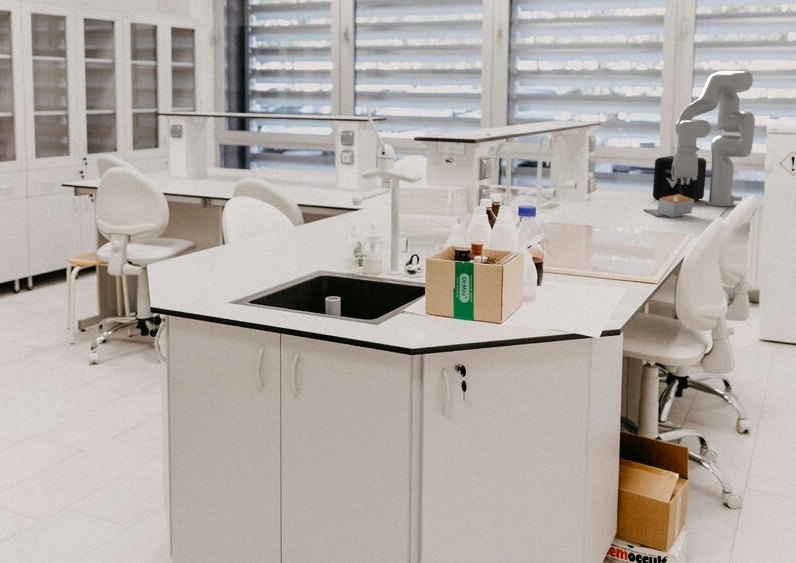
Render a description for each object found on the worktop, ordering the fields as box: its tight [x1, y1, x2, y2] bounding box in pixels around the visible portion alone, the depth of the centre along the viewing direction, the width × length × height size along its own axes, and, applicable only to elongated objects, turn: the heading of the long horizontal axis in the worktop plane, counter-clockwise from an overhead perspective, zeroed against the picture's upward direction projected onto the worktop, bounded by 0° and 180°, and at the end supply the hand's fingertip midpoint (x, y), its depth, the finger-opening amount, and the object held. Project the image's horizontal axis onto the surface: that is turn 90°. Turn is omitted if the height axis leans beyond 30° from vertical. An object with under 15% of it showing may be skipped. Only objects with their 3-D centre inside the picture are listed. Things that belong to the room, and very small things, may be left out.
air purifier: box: [652, 155, 707, 202], centre depth 435 cm, size 20×15×20 cm
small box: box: [657, 194, 695, 218], centre depth 386 cm, size 8×6×13 cm
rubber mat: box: [643, 208, 684, 218], centre depth 392 cm, size 11×18×1 cm, turn 3°
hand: (683, 193), depth 391 cm, fingers closed
